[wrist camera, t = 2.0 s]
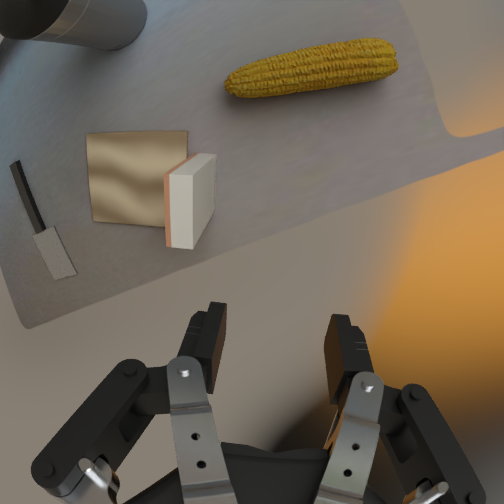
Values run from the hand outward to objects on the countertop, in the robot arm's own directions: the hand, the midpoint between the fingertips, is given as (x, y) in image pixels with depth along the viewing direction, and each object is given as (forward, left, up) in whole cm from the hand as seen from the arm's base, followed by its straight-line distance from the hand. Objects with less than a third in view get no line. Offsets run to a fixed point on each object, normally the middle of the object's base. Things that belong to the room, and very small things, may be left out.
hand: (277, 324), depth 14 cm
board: (+2, -21, -29) cm, 36 cm away
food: (-14, +3, -30) cm, 33 cm away
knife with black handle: (+10, -42, -29) cm, 52 cm away
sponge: (+2, -10, -29) cm, 31 cm away
